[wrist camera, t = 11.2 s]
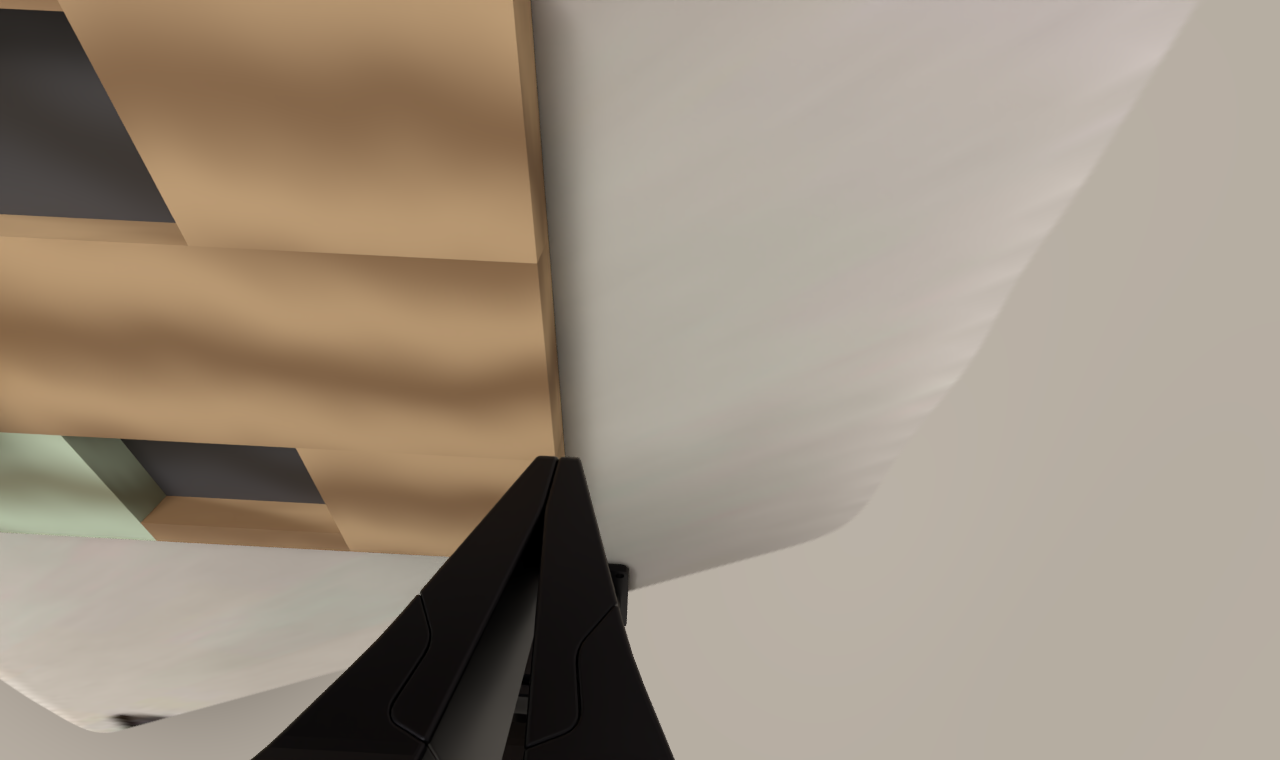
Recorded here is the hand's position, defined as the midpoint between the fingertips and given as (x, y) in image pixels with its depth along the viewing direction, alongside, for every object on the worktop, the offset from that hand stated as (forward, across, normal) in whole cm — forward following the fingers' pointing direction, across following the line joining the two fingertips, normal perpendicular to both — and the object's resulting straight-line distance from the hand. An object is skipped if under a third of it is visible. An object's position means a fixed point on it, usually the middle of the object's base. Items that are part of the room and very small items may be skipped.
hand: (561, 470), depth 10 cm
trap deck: (+10, +18, +4) cm, 21 cm away
